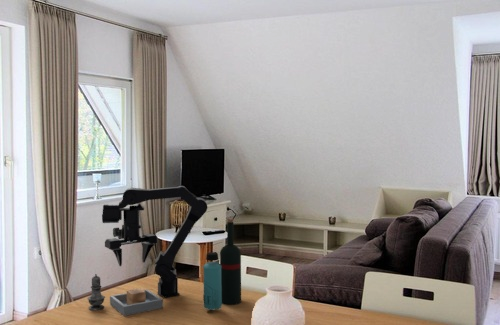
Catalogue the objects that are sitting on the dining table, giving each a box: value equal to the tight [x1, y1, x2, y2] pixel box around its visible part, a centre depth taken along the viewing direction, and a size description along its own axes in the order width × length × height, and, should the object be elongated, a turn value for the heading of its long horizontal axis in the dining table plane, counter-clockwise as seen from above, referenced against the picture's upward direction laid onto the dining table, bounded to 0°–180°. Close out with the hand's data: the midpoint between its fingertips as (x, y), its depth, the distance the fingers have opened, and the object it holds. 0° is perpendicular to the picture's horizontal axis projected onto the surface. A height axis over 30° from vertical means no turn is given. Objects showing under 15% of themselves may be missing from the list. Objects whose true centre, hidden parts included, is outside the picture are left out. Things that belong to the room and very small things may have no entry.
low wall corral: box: [109, 289, 164, 317], centre depth 185 cm, size 14×14×3 cm
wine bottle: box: [219, 217, 242, 306], centre depth 190 cm, size 8×10×30 cm
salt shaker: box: [87, 273, 106, 311], centre depth 183 cm, size 6×6×12 cm
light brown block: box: [126, 288, 146, 305], centre depth 185 cm, size 5×5×5 cm
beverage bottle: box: [202, 251, 223, 310], centre depth 179 cm, size 6×7×20 cm
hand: (132, 264), depth 195 cm, fingers open, 9 cm apart
